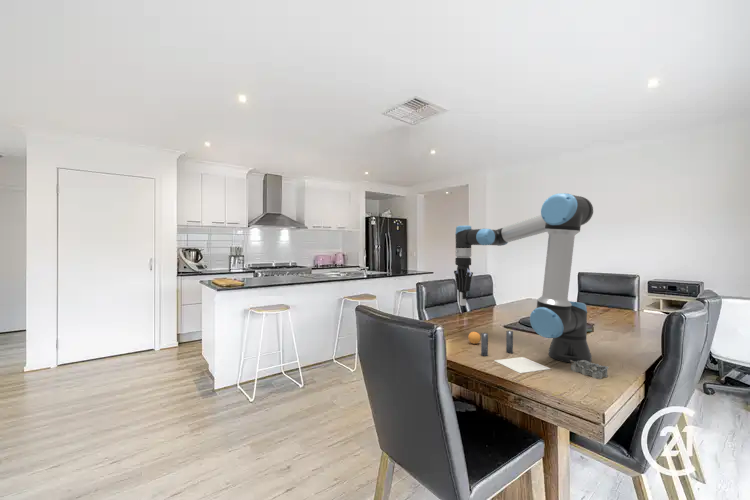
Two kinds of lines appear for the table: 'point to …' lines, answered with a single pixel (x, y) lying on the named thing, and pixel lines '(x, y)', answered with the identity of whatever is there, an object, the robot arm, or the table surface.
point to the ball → (474, 337)
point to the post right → (509, 341)
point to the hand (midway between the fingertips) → (462, 305)
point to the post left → (484, 344)
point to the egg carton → (589, 368)
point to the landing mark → (522, 365)
